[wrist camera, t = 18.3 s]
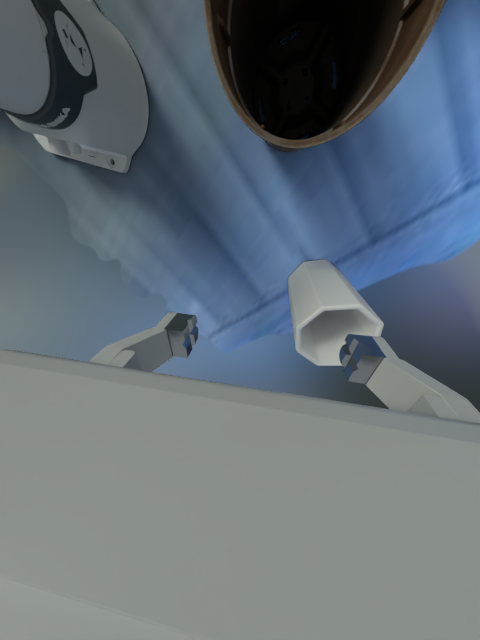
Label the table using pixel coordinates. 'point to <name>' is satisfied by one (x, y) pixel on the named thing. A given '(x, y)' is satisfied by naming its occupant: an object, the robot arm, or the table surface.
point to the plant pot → (313, 60)
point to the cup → (326, 312)
